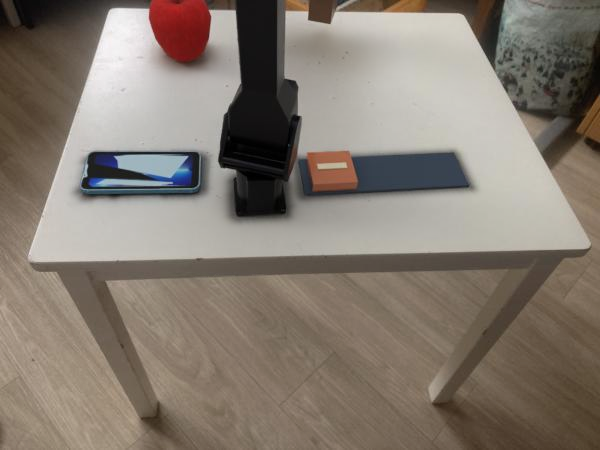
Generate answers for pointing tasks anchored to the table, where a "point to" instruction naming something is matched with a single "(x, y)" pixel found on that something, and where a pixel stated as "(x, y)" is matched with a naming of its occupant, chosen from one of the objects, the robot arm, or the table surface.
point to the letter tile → (331, 171)
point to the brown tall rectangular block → (322, 10)
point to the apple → (181, 27)
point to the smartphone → (141, 172)
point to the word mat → (398, 173)
